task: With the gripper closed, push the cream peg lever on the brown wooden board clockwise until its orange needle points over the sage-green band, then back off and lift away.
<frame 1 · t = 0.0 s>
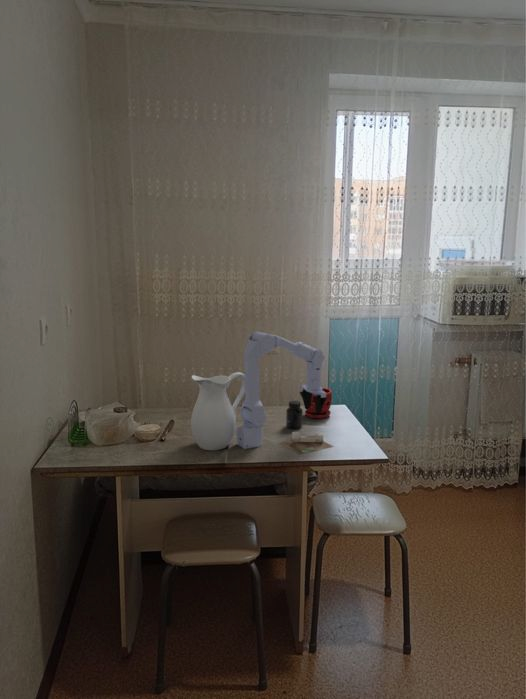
hand: (312, 410, 215), 10 cm above the table, tool pointing down, fingers open, 7 cm apart
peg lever: (307, 436, 203), point 3 cm above the table, hinge at -30.0°
brown wooden board: (306, 447, 202), on the table
plant pot: (316, 416, 242), on the table
pitcher: (221, 444, 205), on the table
supplement bottle: (294, 430, 223), on the table
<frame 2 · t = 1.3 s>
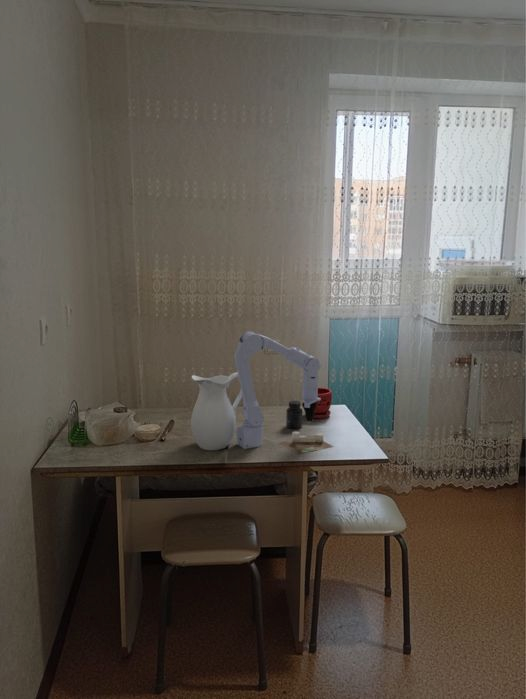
hand: (309, 420, 206), 9 cm above the table, tool pointing down, fingers closed
nothing on the table moved.
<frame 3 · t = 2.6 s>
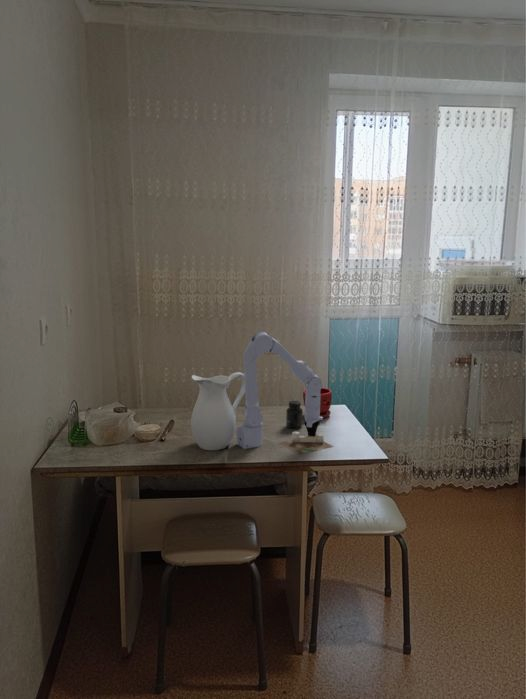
hand: (311, 439, 205), 2 cm above the table, tool pointing down, fingers closed, pressing on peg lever
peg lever: (307, 437, 203), point 3 cm above the table, hinge at -33.4°, touching gripper
everything else where it was.
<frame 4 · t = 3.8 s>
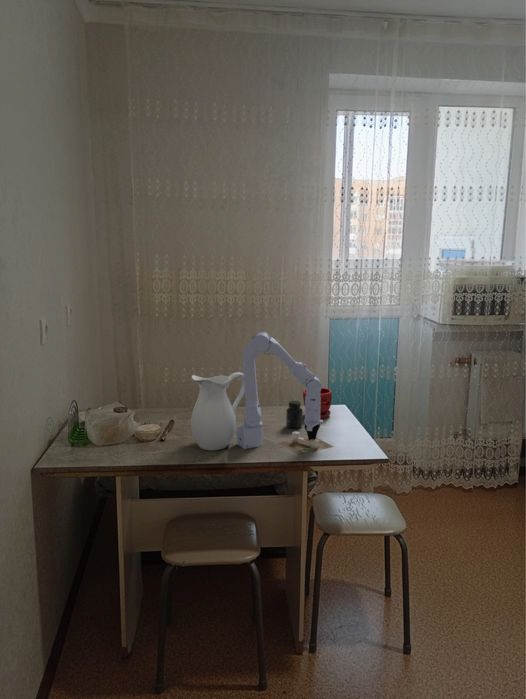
hand: (311, 443, 200), 2 cm above the table, tool pointing down, fingers closed, pressing on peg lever
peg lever: (305, 439, 200), point 3 cm above the table, hinge at -74.5°, touching gripper
everything else where it was.
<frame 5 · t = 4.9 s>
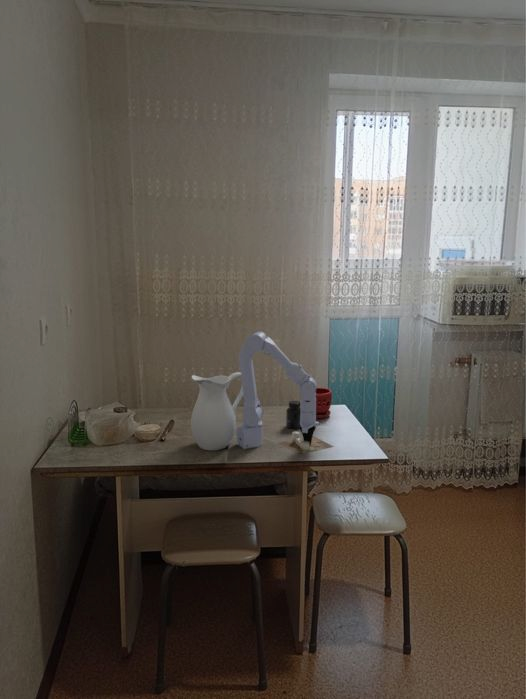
hand: (307, 445, 198), 2 cm above the table, tool pointing down, fingers closed, pressing on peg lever
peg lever: (300, 440, 199), point 3 cm above the table, hinge at -102.7°, touching gripper
everything else where it was.
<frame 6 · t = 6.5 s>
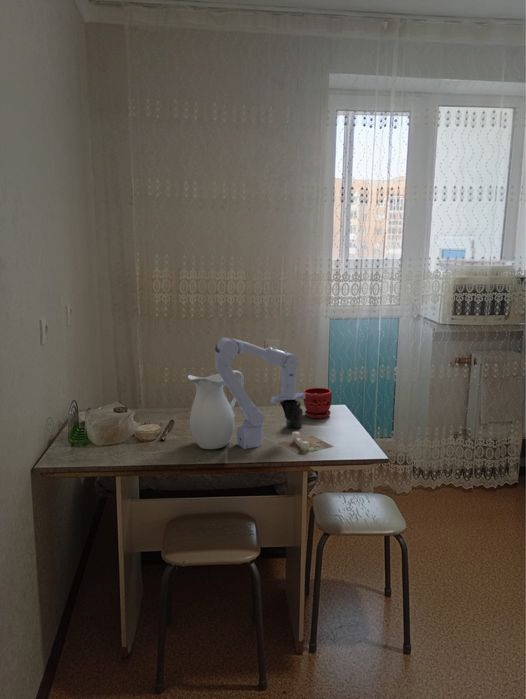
hand: (288, 418, 205), 10 cm above the table, tool pointing down, fingers closed
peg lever: (300, 440, 199), point 3 cm above the table, hinge at -102.9°
pitcher: (221, 443, 205), on the table, touching arm
everything else where it was.
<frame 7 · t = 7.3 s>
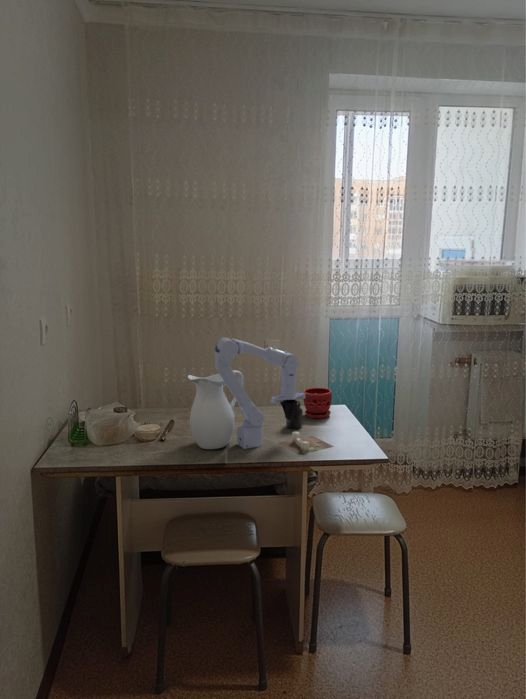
hand: (288, 418, 205), 10 cm above the table, tool pointing down, fingers closed
nothing on the table moved.
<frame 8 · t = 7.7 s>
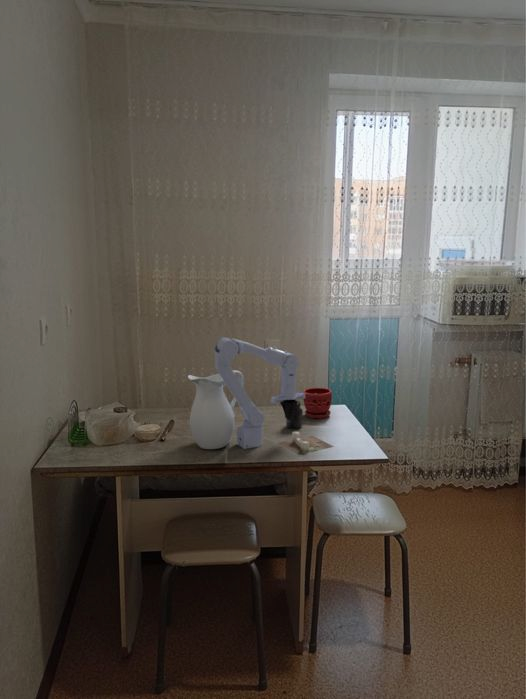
hand: (288, 418, 205), 10 cm above the table, tool pointing down, fingers closed
nothing on the table moved.
at the end: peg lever at -103° (first picture: -30°) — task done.
